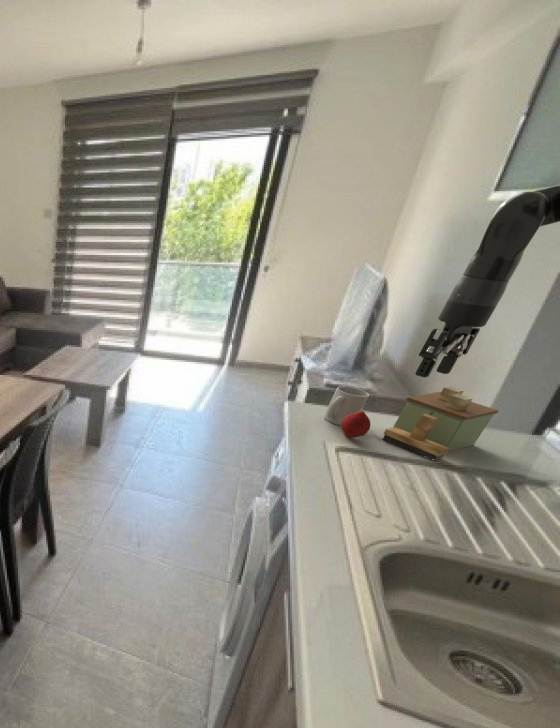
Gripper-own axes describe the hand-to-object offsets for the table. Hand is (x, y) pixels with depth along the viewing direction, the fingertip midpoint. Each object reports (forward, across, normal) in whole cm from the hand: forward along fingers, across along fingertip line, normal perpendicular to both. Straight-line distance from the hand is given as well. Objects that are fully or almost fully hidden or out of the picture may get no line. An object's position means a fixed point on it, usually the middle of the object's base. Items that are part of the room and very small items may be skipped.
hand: (431, 374), depth 107 cm
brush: (+20, +9, 0) cm, 22 cm away
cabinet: (+20, +22, +1) cm, 30 cm away
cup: (+20, +6, +17) cm, 27 cm away
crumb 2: (+10, +19, -1) cm, 22 cm away
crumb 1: (+10, +24, +3) cm, 27 cm away
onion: (+21, -1, +9) cm, 22 cm away
